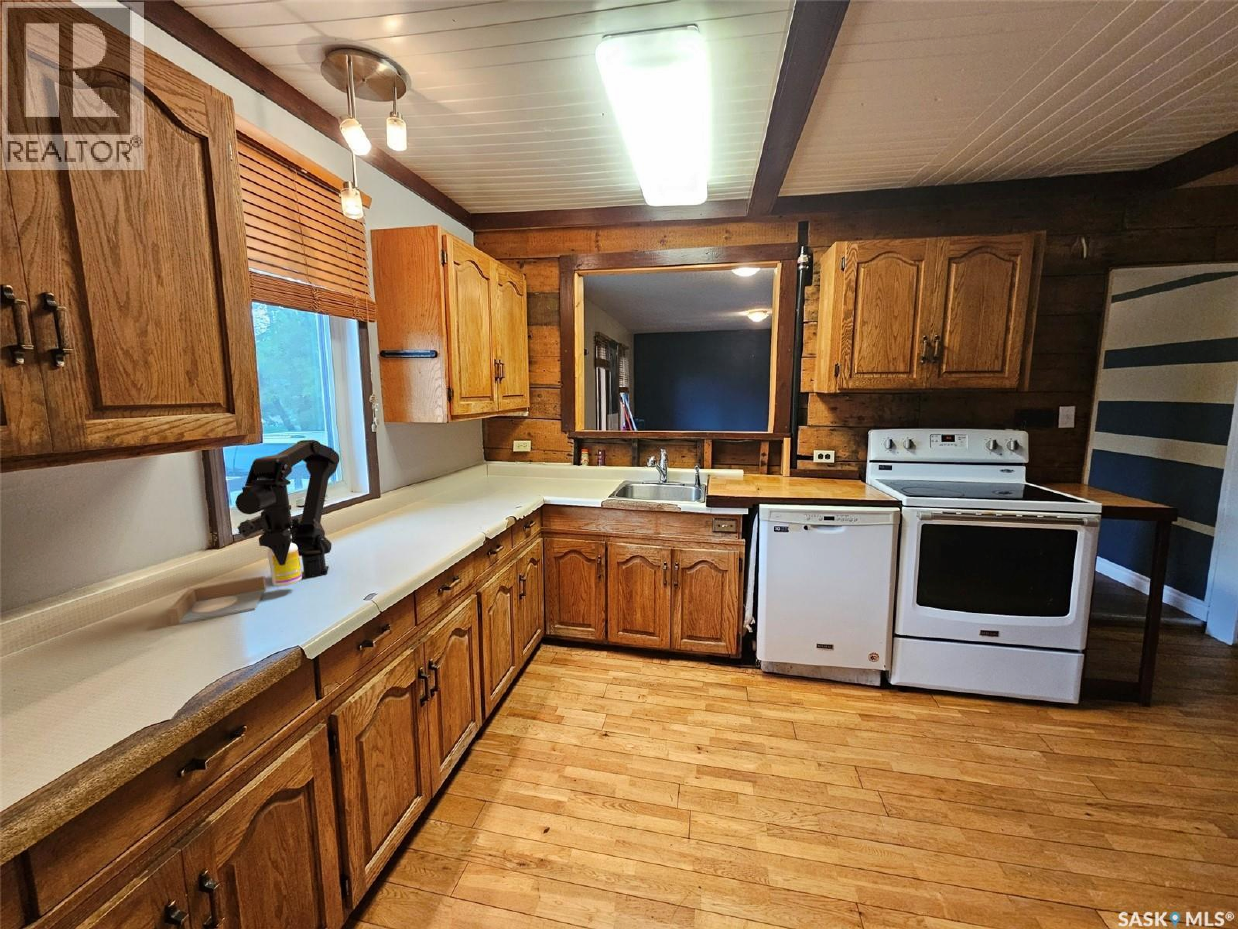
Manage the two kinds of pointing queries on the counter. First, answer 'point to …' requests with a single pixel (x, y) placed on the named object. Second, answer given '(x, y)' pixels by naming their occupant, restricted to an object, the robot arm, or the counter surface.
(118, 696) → the counter surface
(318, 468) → the robot arm
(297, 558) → the supplement bottle
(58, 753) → the counter surface
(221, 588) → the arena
